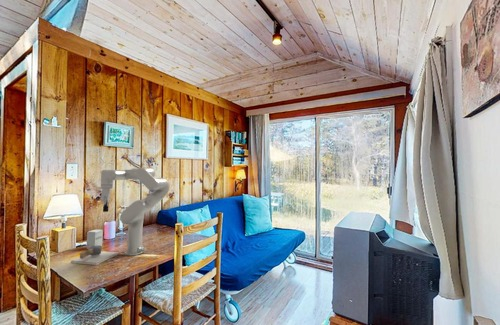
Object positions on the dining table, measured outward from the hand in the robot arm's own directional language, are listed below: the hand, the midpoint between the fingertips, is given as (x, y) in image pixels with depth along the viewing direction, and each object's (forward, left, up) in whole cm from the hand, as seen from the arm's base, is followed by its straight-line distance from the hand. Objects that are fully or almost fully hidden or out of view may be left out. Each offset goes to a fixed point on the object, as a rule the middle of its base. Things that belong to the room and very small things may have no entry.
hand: (105, 211), depth 173 cm
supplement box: (+12, -4, -28) cm, 31 cm away
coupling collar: (-7, +20, -25) cm, 32 cm away
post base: (-6, +15, -28) cm, 33 cm away
